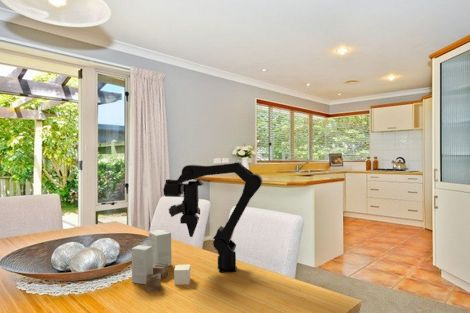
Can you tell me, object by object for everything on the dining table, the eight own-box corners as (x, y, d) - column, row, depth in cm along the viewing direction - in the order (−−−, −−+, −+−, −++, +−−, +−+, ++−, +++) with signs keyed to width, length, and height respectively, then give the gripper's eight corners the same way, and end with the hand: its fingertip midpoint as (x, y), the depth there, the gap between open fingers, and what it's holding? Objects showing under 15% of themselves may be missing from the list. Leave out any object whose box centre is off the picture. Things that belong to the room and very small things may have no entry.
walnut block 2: (160, 285, 102) (160, 272, 102) (160, 291, 98) (160, 278, 98) (147, 286, 101) (146, 274, 101) (146, 292, 97) (146, 279, 97)
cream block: (190, 278, 108) (190, 264, 108) (189, 284, 103) (188, 269, 103) (176, 278, 107) (176, 264, 107) (174, 284, 102) (174, 270, 102)
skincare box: (153, 280, 106) (153, 246, 106) (146, 285, 102) (145, 249, 102) (139, 277, 108) (138, 244, 108) (131, 282, 104) (131, 248, 104)
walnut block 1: (167, 274, 111) (167, 263, 111) (162, 279, 107) (162, 267, 107) (156, 273, 112) (156, 262, 112) (150, 278, 108) (150, 267, 108)
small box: (171, 265, 120) (171, 232, 120) (156, 269, 116) (156, 235, 116) (162, 260, 127) (162, 229, 127) (148, 263, 123) (148, 231, 123)
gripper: (173, 194, 127) (174, 231, 127) (166, 200, 108) (166, 244, 108) (200, 193, 128) (200, 230, 128) (197, 200, 109) (197, 243, 109)
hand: (191, 236), depth 118 cm, fingers closed
